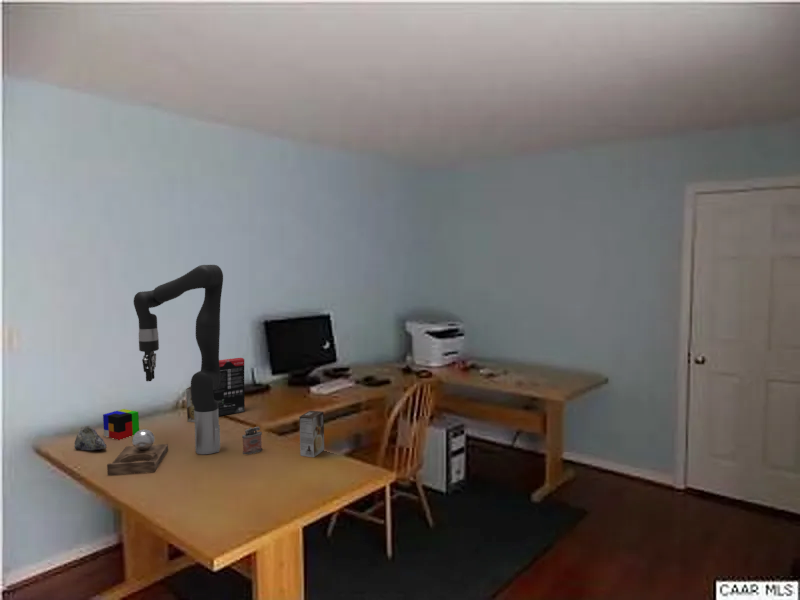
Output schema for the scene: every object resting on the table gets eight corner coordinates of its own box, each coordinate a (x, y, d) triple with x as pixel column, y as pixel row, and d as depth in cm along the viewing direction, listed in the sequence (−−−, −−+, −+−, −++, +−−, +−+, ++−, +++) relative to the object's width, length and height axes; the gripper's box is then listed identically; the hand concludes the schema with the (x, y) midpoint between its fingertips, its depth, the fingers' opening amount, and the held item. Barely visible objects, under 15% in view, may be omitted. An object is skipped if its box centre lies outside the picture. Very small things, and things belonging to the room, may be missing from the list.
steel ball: (156, 445, 235) (156, 426, 234) (152, 452, 227) (151, 432, 226) (135, 446, 234) (134, 427, 233) (130, 453, 226) (129, 433, 225)
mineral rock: (107, 452, 235) (106, 428, 234) (77, 457, 229) (75, 432, 228) (102, 443, 245) (101, 420, 245) (73, 448, 239) (72, 424, 238)
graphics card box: (240, 409, 297) (239, 356, 295) (246, 412, 292) (244, 358, 290) (207, 415, 286) (205, 360, 284) (213, 418, 281) (211, 362, 279)
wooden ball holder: (168, 450, 237) (167, 440, 237) (154, 472, 213) (154, 461, 213) (126, 452, 234) (125, 442, 234) (107, 475, 211) (107, 464, 210)
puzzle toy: (104, 436, 254) (103, 414, 253) (124, 430, 263) (123, 408, 262) (119, 440, 249) (118, 417, 249) (139, 433, 258) (138, 411, 257)
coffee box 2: (310, 448, 239) (310, 410, 237) (324, 450, 237) (324, 411, 235) (299, 455, 230) (299, 416, 229) (314, 457, 228) (313, 417, 226)
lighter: (244, 455, 230) (244, 430, 230) (241, 453, 233) (240, 428, 232) (263, 451, 236) (263, 426, 235) (259, 448, 238) (259, 424, 237)
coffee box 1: (211, 418, 281) (210, 385, 279) (204, 422, 274) (203, 388, 273) (193, 417, 282) (192, 385, 281) (186, 421, 276) (185, 388, 274)
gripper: (154, 341, 235) (156, 383, 237) (161, 336, 249) (163, 375, 251) (134, 342, 234) (136, 384, 235) (143, 336, 248) (145, 376, 249)
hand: (150, 379), depth 243 cm, fingers open, 3 cm apart
